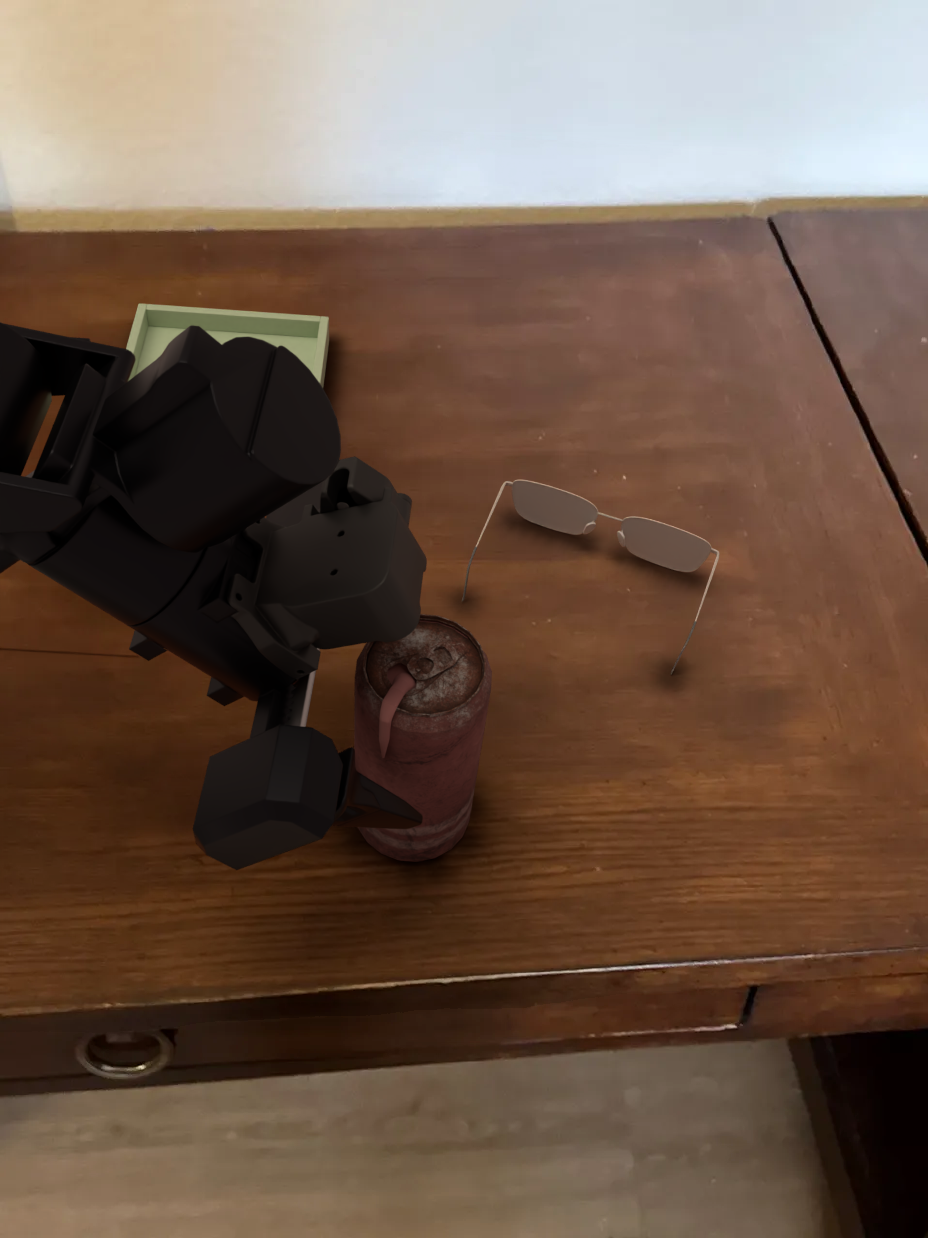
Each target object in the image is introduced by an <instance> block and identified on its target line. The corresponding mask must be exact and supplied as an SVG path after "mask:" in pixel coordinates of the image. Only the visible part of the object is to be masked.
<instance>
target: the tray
mask: <svg viewBox="0 0 928 1238" xmlns="http://www.w3.org/2000/svg"><path fill="white" fill-rule="evenodd" d="M191 325H194V326H200V327H201V328H202V329H203V330H205V331H206V332H207V333H208V334H209V335H211V336H212V337H213V338H214V339H216V340H217V341H218V342H219V343H221V344H223V343H225V342H227V341H229V340H231V339H233V338H235V337H253V338H257V339H261V340H264V341H266V342H268V343H270V344H272V345H274V346H276V347H279V346H284V347H286V348H287V349H288V350H290V351H291V352H292V353H293V354H295V355H296V356H297V357H298V358H299V359H300V360H301V361H302V362H303V363H304V364H305V365H306V366H307V367H308V368H309V369H310V371H311V372H312V373H313V375H314V376H315V377H316V379H317V380H318V381H319V383H320V384H321V386H322V388H323V389H324V386H325V385H324V384H325V379H326V378H325V377H326V370H327V369H326V368H327V361H328V352H329V345H330V317H329V316H324V315H321V316H319V315H309V314H307V315H306V314H297V313H296V314H294V313H282V312H281V313H280V312H266V311H251V310H237V309H224V308H211V307H209V308H208V307H198V306H197V307H195V306H183V305H182V306H180V305H170V304H169V305H168V304H167V305H166V304H155V303H152V304H151V303H138V305H137V309H136V312H135V315H134V319H133V322H132V325H131V329H130V332H129V337H128V340H127V344H126V347H125V349H127V350H129V351H131V352H132V353H133V354H134V355H135V359H136V361H135V364H134V366H133V369H132V372H131V375H130V378H129V380H130V379H132V378H133V377H134V376H136V375H137V374H138V373H139V372H141V371H142V370H143V369H145V368H146V367H147V366H148V365H150V364H151V363H152V362H154V361H155V360H156V359H157V358H158V357H159V356H161V355H162V353H163V352H164V350H165V348H166V347H167V345H168V344H169V343H170V342H171V341H172V340H173V339H174V338H175V337H176V336H178V335H179V334H180V333H181V332H183V331H184V330H185V329H187V328H188V327H189V326H191ZM129 380H128V381H129Z"/></svg>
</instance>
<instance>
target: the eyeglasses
mask: <svg viewBox="0 0 928 1238" xmlns="http://www.w3.org/2000/svg"><path fill="white" fill-rule="evenodd" d="M506 486H508V487H511V497H512V502H513V506H514V508H515V511H516V513H517V514H518V515H519V516H520V517H521V518H523V519H524V520H525V521H526V520H527V521H528V522H530V523H533V524H535V525H538V526H541V527H543V528H547V529H550V530H553V531H556V532H560V533H565V534H569V535H573V536H579V535H582V534H583V535H587V534H590V533H592V532H594V530H595V528H596V527H597V524H596V521H597V520H598V517H599V516H602V517H605V518H608V519H611V520H615V521H617V522H620V530H618V531H616V536H617V537H616V538H617V541H618V543H619V545H620V546H621V547H622V548H626V550H627V551H628V552H629V553H630V554H632V555H634V556H636V557H638V558H640V559H643V560H644V561H647V562H650V563H652V564H655V565H658V566H660V567H663V568H667V569H669V570H670V569H671V570H672V571H673V570H674V571H677V572H682V573H693V572H695V571H697V570H698V569H700V568H701V567H702V565H703V564H704V563H705V562H706V561H707V560H708V558H709V556H710V554H714V555H715V559H714V563H713V565H712V569H711V570H710V574H709V577H708V580H707V583H706V587H705V589H704V592H703V596H702V598H701V601H700V605H699V608H698V611H697V613H696V617H695V620H694V621H693V624H692V626H691V629H690V631H689V633H688V636H687V638H686V640H685V643H684V644H683V647H682V648H681V651H680V652H679V654H678V656H677V658H676V660H675V662H674V665H673V666H672V669H671V671H670V675H672V674H673V673H674V671H675V668H676V666H677V664H678V662H679V660H680V658H681V657H682V655H683V653H684V651H685V649H686V647H687V646H688V643H689V642H690V639H691V637H692V635H693V633H694V630H695V627H696V625H697V620H698V617H699V615H700V612H701V609H702V607H703V604H704V601H705V599H706V595H707V593H708V590H709V587H710V584H711V581H712V579H713V576H714V573H715V570H716V568H717V564H718V562H719V559H720V551H719V550H717V549H715V548H713V547H712V545H711V543H710V542H709V541H708V540H706V539H704V538H702V537H701V536H698V535H696V534H694V533H692V532H690V531H687V530H684V529H682V528H679V527H677V526H673V525H671V524H668V523H664V522H662V521H658V520H655V519H651V518H647V517H642V516H637V515H636V516H635V515H632V516H626V517H624V518H623V519H622V518H619V517H616V516H612V515H610V514H607V513H603V512H599V508H597V506H596V505H595V504H594V503H593V502H591V501H590V500H588V499H586V498H584V497H582V496H580V495H577V494H575V493H573V492H571V491H567V490H565V489H561V488H558V487H555V486H552V485H548V484H545V483H541V482H537V481H533V480H527V479H515V480H513V482H512V481H510V480H506V481H504V482H503V484H502V485H501V487H500V488H499V491H498V493H497V496H496V498H495V501H494V503H493V505H492V507H491V510H490V512H489V515H488V517H487V519H486V521H485V524H484V526H483V528H482V530H481V533H480V536H479V538H478V540H477V543H476V545H475V546H474V548H473V550H472V553H471V557H470V558H469V561H468V564H467V568H466V574H465V581H464V587H463V594H462V599H461V602H464V601H465V598H466V595H467V594H466V593H467V586H468V581H469V580H468V579H469V573H470V569H471V565H472V562H473V560H474V557H475V554H476V552H477V550H478V546H479V544H480V542H481V539H482V538H483V535H484V533H485V530H486V528H487V526H488V524H489V522H490V520H491V518H492V515H493V514H494V512H495V509H496V507H497V505H498V502H499V500H500V499H501V496H502V494H503V491H504V489H505V487H506Z"/></svg>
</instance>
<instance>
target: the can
mask: <svg viewBox="0 0 928 1238" xmlns="http://www.w3.org/2000/svg"><path fill="white" fill-rule="evenodd" d="M355 663H356V664H355V670H354V689H353V691H354V700H353V701H354V702H353V703H354V708H353V710H354V713H353V715H354V716H353V719H354V721H353V722H354V724H353V726H354V727H353V732H354V733H353V735H354V737H353V748H354V749H355V768H356V770H357V771H358V772H359V773H361V774H362V775H364V776H366V777H367V778H369V779H370V780H372V781H374V782H375V783H377V784H379V785H380V786H382V787H384V788H385V789H387V790H388V791H390V792H392V793H393V794H395V795H397V796H398V797H400V798H401V799H403V800H405V801H406V802H407V803H409V804H410V805H411V806H412V807H413V808H415V809H416V810H417V811H418V812H419V813H421V814H422V816H423V821H422V824H421V825H418V826H416V827H413V828H410V829H386V828H363V827H357V830H358V831H359V832H360V834H361V836H362V837H363V838H364V840H365V841H366V843H367V844H369V845H370V846H371V847H372V848H373V849H375V850H376V851H377V852H378V853H380V854H381V855H383V856H387V857H388V858H392V859H394V860H397V861H402V862H403V861H404V862H414V863H415V862H416V863H418V862H423V861H427V860H431V859H432V860H433V859H436V858H438V857H439V856H441V855H443V854H445V853H447V852H449V851H451V850H452V849H453V848H454V847H455V846H456V845H457V844H458V843H459V841H460V840H461V839H462V838H463V837H464V835H465V833H466V830H467V828H468V826H469V824H470V820H471V814H472V807H473V801H474V794H475V790H476V784H477V778H478V771H479V766H480V759H481V754H482V747H483V742H484V735H485V729H486V722H487V717H488V711H489V704H490V698H491V694H492V693H491V692H492V682H493V681H492V680H493V670H492V667H491V664H490V661H489V657H488V656H487V654H486V652H485V651H484V650H483V647H482V645H481V643H480V642H479V640H477V638H476V637H475V636H474V634H473V633H472V632H471V631H470V630H469V629H467V628H466V627H464V626H463V625H461V624H460V623H458V622H457V621H455V620H452V619H450V618H447V617H444V616H441V615H437V614H427V613H426V614H425V613H421V614H420V620H419V623H418V625H417V626H416V628H415V629H414V630H413V631H412V632H411V633H410V634H409V635H408V636H406V637H405V638H402V639H400V640H397V641H393V642H386V643H385V642H382V641H374V642H368V643H364V646H363V648H362V650H361V651H360V653H359V655H358V657H357V659H356V662H355Z"/></svg>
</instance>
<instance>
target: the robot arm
mask: <svg viewBox="0 0 928 1238" xmlns="http://www.w3.org/2000/svg"><path fill="white" fill-rule="evenodd" d="M135 361H136V359H135V355H134V354H133V353H132V352H131V351H129V350H127V349H126V348H124V347H119V346H115V345H114V346H113V345H109V344H104V343H99V342H94V341H91V339H90V338H89V337H77V336H75V337H74V336H67V335H62V334H56V333H50V332H48V331H47V332H46V331H42V330H38V329H33V328H27V327H23V326H18V325H13V324H8V323H5V322H4V323H3V322H1V321H0V575H1V574H2V573H4V572H5V571H7V570H8V569H9V568H10V567H13V566H14V565H15V564H17V563H18V562H20V561H21V562H23V563H25V564H27V565H28V566H30V567H31V568H33V569H34V570H36V571H38V572H40V573H41V574H42V575H44V576H46V577H47V578H49V579H50V580H52V581H54V582H55V583H57V584H59V585H61V586H62V587H63V588H65V589H67V590H68V591H70V592H72V593H73V594H76V595H77V596H78V597H80V598H82V599H83V600H85V601H86V602H88V603H89V604H92V605H93V606H95V607H96V608H97V609H99V610H101V611H103V612H105V613H106V614H108V615H109V616H111V617H113V618H114V619H116V620H118V621H119V622H120V623H122V624H124V625H126V626H127V627H129V628H130V629H133V634H132V638H131V641H130V645H129V648H128V650H129V651H131V652H133V653H134V654H136V655H138V656H139V657H141V658H143V659H144V660H146V661H148V662H149V661H151V660H153V659H155V658H156V657H158V656H161V655H162V654H164V653H165V652H170V653H171V654H174V655H175V656H176V657H177V658H180V660H183V661H185V662H186V663H188V664H189V665H191V666H193V667H194V668H195V669H198V670H199V671H201V672H202V673H204V674H206V675H207V676H209V677H210V680H209V685H208V688H207V692H206V697H207V698H210V699H211V700H213V701H214V702H216V703H218V704H219V705H222V706H223V707H226V706H228V705H231V704H232V703H235V702H236V701H240V700H241V699H242V698H245V699H247V700H249V701H252V702H256V707H255V710H254V716H253V721H252V725H251V730H250V735H249V738H247V739H245V740H243V741H240V742H239V743H237V744H234V745H232V746H230V747H228V748H225V749H223V750H221V751H219V752H217V753H214V754H212V755H210V756H209V758H208V763H207V767H206V771H205V775H204V780H203V782H202V783H203V784H202V787H201V791H200V796H199V799H198V800H199V801H198V805H197V807H196V812H195V818H194V821H193V825H192V833H193V837H194V841H195V844H196V845H197V847H198V848H199V849H200V850H201V851H202V852H203V854H205V855H206V857H210V858H211V859H213V860H215V861H216V862H219V863H221V864H224V865H225V866H227V867H229V868H231V869H234V870H235V871H238V870H241V869H244V868H247V867H250V866H252V865H255V864H258V863H261V862H263V861H266V860H268V859H271V858H274V857H276V856H279V855H282V854H285V853H288V852H291V851H293V850H296V849H299V848H302V847H303V846H306V845H308V844H312V843H315V842H317V841H320V840H323V838H324V837H325V836H326V834H327V833H328V832H329V830H330V829H331V828H332V827H341V828H343V827H344V828H358V827H363V828H386V829H410V828H413V827H416V826H418V825H421V824H422V821H423V816H422V814H421V813H419V812H418V811H417V810H416V809H415V808H413V807H412V806H411V805H410V804H409V803H407V802H406V801H405V800H403V799H401V798H400V797H398V796H397V795H395V794H393V793H392V792H390V791H388V790H387V789H385V788H384V787H382V786H380V785H379V784H377V783H375V782H374V781H372V780H370V779H369V778H367V777H366V776H364V775H362V774H361V773H359V772H358V771H357V770H356V768H355V749H354V746H351V747H348V748H346V749H344V750H341V751H338V750H337V747H336V745H335V743H334V741H333V739H332V738H330V737H329V736H327V735H326V734H324V733H323V732H321V731H319V730H317V729H316V728H315V727H311V726H307V722H308V716H309V711H310V707H311V706H310V705H311V701H312V695H313V689H314V683H315V678H316V673H317V671H318V669H319V664H320V660H321V653H322V652H321V650H323V651H324V650H325V651H326V650H332V649H337V648H344V647H345V648H346V647H350V646H356V645H361V644H366V643H368V642H374V641H382V642H385V643H386V642H393V641H397V640H400V639H402V638H405V637H406V636H408V635H409V634H410V633H411V632H412V631H413V630H414V629H415V628H416V626H417V625H418V623H419V620H420V614H422V613H421V612H422V606H421V596H422V594H421V593H422V587H423V581H424V580H423V579H424V573H425V572H426V571H427V565H428V560H427V556H426V554H425V552H424V551H423V549H422V547H421V546H420V544H419V542H418V541H417V538H416V537H415V535H414V534H413V533H412V530H411V529H410V519H411V513H412V512H411V511H412V508H413V507H412V505H413V500H412V498H411V497H410V496H409V495H408V494H406V493H402V492H397V490H396V488H395V486H394V485H393V483H392V482H391V479H389V477H387V476H386V475H384V474H382V472H380V471H378V470H377V469H376V468H374V467H373V466H371V465H369V464H368V463H367V462H365V461H363V459H361V458H359V457H357V456H356V455H355V456H354V455H353V456H349V457H345V458H341V454H342V444H341V443H342V442H341V441H342V439H341V431H340V426H339V422H338V418H337V415H336V413H335V410H334V407H333V405H332V402H331V400H330V398H329V396H328V395H327V393H326V391H325V390H324V387H323V388H322V386H321V384H320V383H319V381H318V380H317V379H316V377H315V376H314V375H313V373H312V372H311V371H310V369H309V368H308V367H307V366H306V365H305V364H304V363H303V362H302V361H301V360H300V359H299V358H298V357H297V356H296V355H295V354H293V353H292V352H291V351H290V350H288V349H287V348H286V347H284V346H279V347H276V346H274V345H272V344H270V343H268V342H266V341H264V340H261V339H257V338H253V337H235V338H233V339H231V340H229V341H227V342H225V343H223V344H221V343H219V342H218V341H217V340H216V339H214V338H213V337H212V336H211V335H209V334H208V333H207V332H206V331H205V330H203V329H202V328H201V327H200V326H194V325H191V326H189V327H188V328H187V329H185V330H184V331H183V332H181V333H180V334H179V335H178V336H176V337H175V338H174V339H173V340H172V341H171V342H170V343H169V344H168V345H167V347H166V348H165V350H164V352H163V353H162V355H161V356H159V357H158V358H157V359H156V360H155V361H154V362H152V363H151V364H150V365H148V366H147V367H146V368H145V369H143V370H142V371H141V372H139V373H138V374H137V375H136V376H134V377H133V378H132V379H130V380H129V378H130V375H131V372H132V369H133V366H134V364H135ZM128 380H129V381H128ZM58 396H62V397H63V399H62V401H61V405H60V407H59V409H58V411H57V414H56V416H55V419H54V422H53V424H52V427H51V429H50V432H49V434H48V437H47V438H46V441H45V444H44V447H43V449H42V451H41V454H40V455H39V456H40V457H39V459H38V461H37V464H36V466H35V469H34V470H33V471H31V472H29V473H28V474H27V475H25V476H23V475H22V474H23V472H24V470H25V467H26V466H27V462H28V460H29V457H30V455H31V453H32V450H33V447H34V445H35V443H36V440H37V439H38V436H39V433H40V431H41V428H42V426H43V424H44V421H45V418H46V417H47V413H48V411H49V409H50V406H51V404H52V401H53V397H58ZM340 458H341V459H340Z"/></svg>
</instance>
